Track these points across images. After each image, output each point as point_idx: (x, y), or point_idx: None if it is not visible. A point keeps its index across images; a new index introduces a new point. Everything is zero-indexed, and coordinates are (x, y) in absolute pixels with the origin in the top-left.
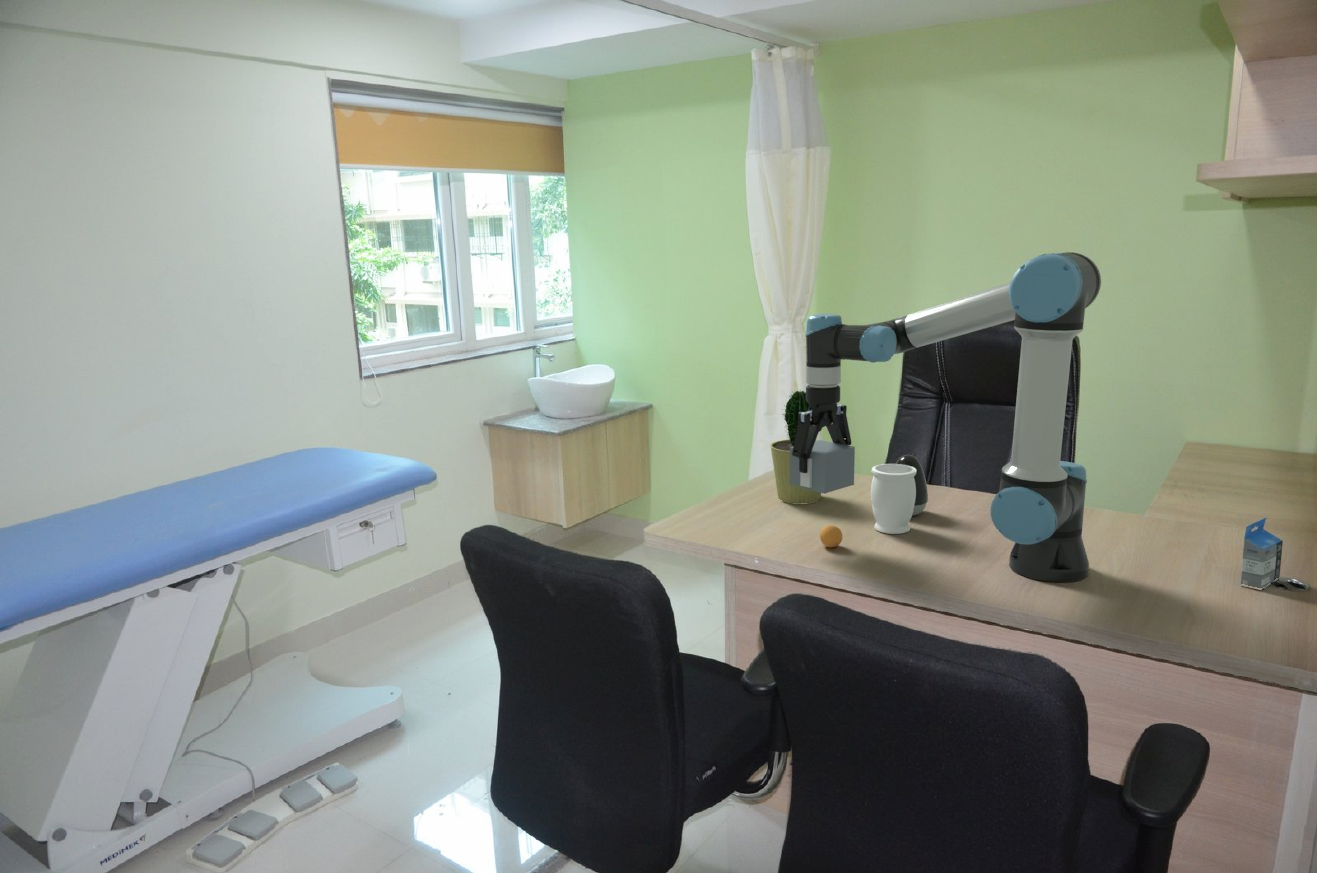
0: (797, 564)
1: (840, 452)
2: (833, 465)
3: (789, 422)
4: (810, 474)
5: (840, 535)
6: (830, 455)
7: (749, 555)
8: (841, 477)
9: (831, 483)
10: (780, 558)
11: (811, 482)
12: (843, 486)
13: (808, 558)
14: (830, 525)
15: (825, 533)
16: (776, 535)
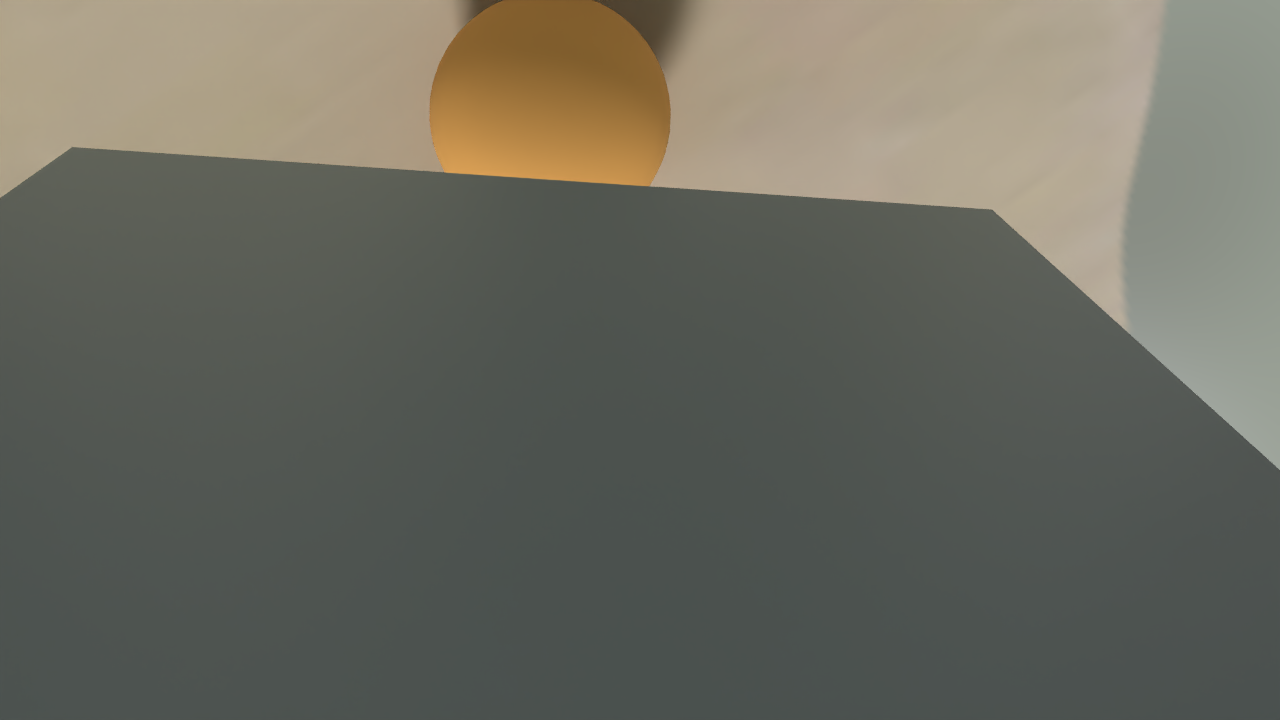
0: (1146, 44)
1: (526, 698)
2: (879, 447)
3: None
4: None
5: (542, 2)
6: (1197, 707)
7: None
8: (479, 257)
9: (833, 252)
10: (1087, 248)
11: None
12: (423, 179)
13: (953, 63)
14: (542, 166)
15: (658, 133)
16: None
